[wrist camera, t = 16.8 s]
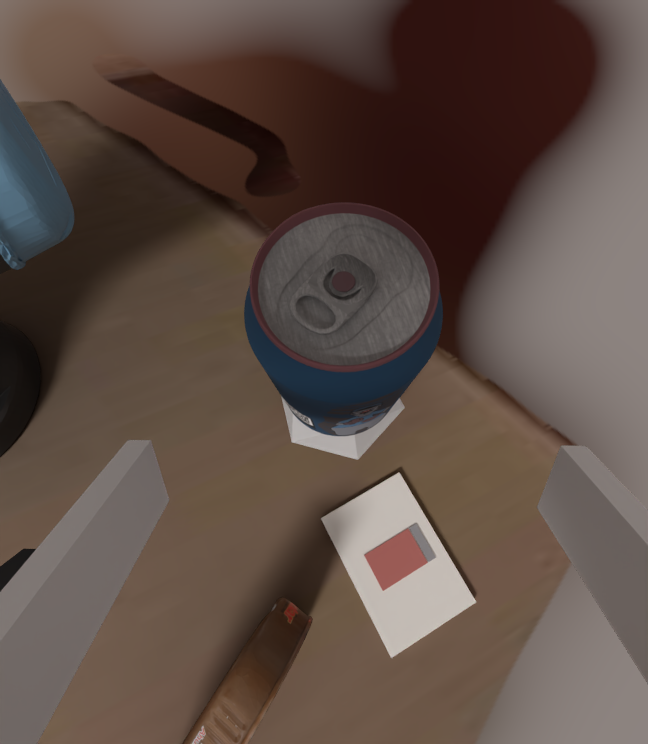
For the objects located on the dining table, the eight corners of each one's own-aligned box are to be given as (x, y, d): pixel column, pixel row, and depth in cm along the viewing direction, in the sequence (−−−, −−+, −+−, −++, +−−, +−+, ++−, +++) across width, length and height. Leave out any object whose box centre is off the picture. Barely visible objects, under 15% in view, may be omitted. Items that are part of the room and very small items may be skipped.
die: (374, 350, 31) (304, 295, 24) (442, 409, 25) (375, 357, 19) (317, 417, 33) (236, 382, 26) (369, 488, 27) (281, 467, 20)
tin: (184, 829, 22) (95, 1037, 14) (147, 791, 22) (41, 968, 14) (320, 601, 25) (312, 660, 17) (285, 574, 26) (261, 617, 18)
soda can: (333, 313, 23) (331, 153, 12) (417, 377, 22) (507, 265, 10) (262, 389, 22) (181, 290, 10) (346, 463, 20) (359, 444, 9)
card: (321, 517, 27) (320, 518, 26) (398, 472, 27) (399, 472, 27) (390, 655, 24) (391, 658, 23) (474, 600, 25) (476, 602, 24)
